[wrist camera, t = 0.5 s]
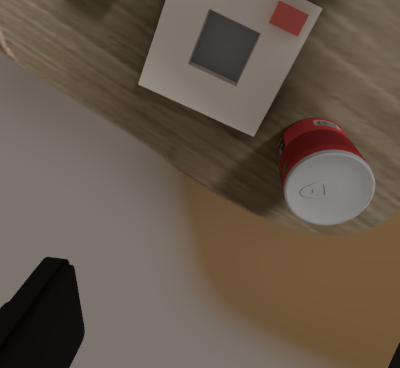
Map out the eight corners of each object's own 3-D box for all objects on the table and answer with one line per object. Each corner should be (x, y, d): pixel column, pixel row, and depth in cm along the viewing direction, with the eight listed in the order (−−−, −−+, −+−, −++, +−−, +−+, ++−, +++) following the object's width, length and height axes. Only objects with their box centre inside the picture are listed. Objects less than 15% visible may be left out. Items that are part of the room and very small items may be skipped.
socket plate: (189, -56, 33) (183, -62, 30) (318, 8, 34) (324, 8, 31) (144, 80, 40) (135, 86, 37) (253, 130, 41) (253, 140, 38)
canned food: (265, 134, 41) (270, 174, 31) (331, 102, 38) (359, 136, 29) (291, 185, 44) (303, 237, 34) (355, 159, 41) (387, 207, 31)
